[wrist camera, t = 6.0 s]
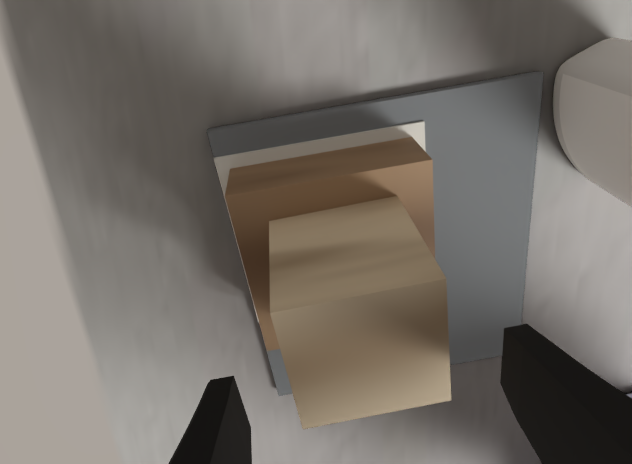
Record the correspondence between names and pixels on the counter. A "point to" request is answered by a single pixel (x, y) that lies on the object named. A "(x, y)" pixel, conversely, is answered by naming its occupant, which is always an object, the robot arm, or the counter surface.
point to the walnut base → (322, 200)
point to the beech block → (358, 312)
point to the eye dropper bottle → (598, 114)
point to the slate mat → (434, 188)
